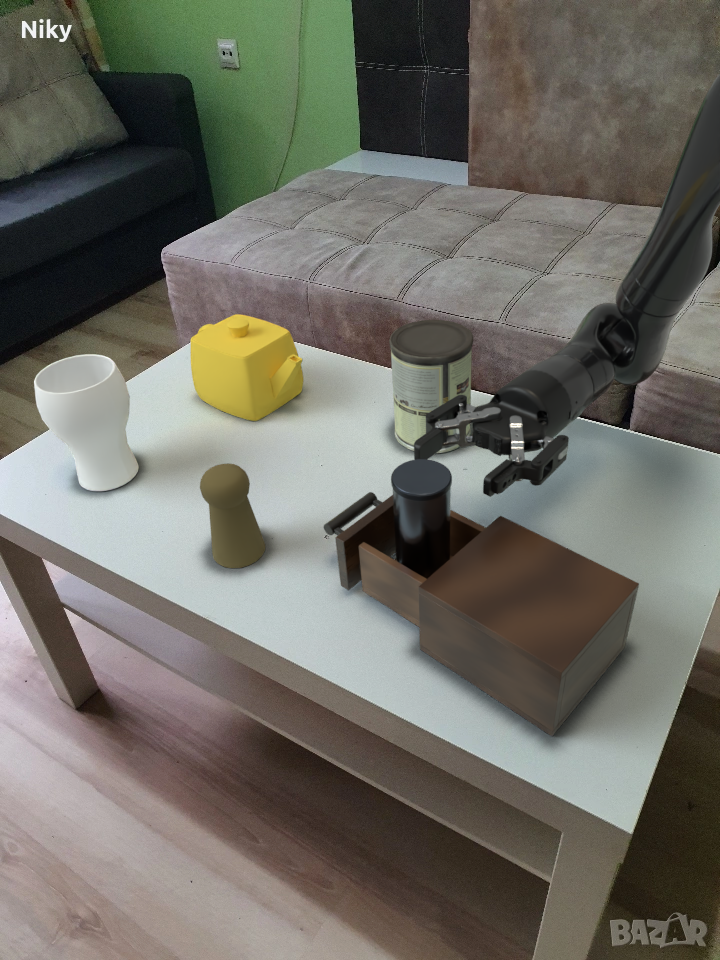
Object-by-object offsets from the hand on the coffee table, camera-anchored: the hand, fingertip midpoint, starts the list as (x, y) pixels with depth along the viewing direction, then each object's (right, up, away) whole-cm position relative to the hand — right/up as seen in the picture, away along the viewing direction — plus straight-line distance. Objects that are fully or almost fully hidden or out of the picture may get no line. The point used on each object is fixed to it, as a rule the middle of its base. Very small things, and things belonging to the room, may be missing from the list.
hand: (450, 471), depth 73 cm
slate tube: (-2, -11, +4) cm, 12 cm away
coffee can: (+1, +5, +28) cm, 29 cm away
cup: (-42, 0, +26) cm, 49 cm away
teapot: (-24, +11, +39) cm, 47 cm away
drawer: (-4, -11, +6) cm, 13 cm away
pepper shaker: (-22, -9, +12) cm, 27 cm away
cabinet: (+7, -17, -1) cm, 18 cm away
